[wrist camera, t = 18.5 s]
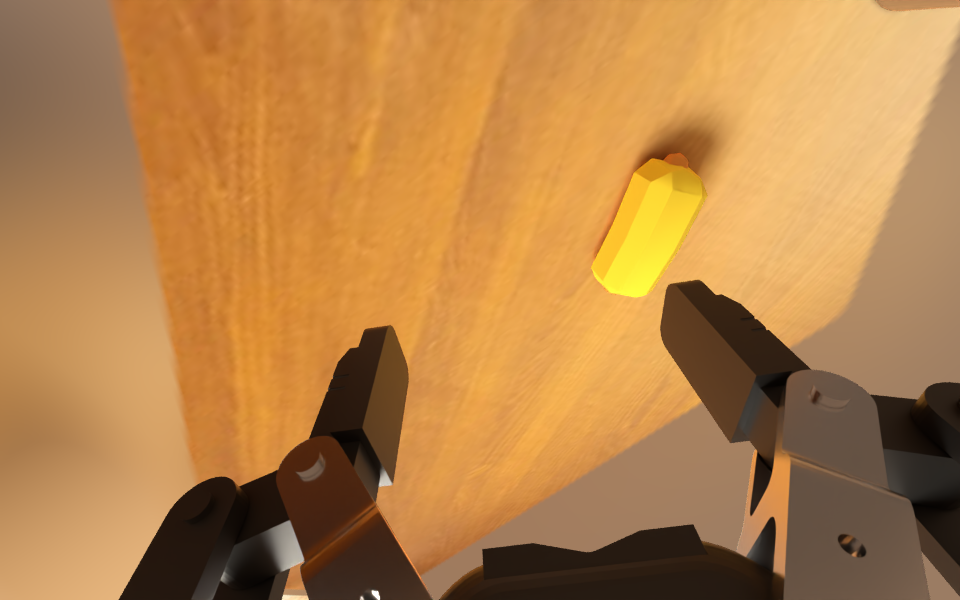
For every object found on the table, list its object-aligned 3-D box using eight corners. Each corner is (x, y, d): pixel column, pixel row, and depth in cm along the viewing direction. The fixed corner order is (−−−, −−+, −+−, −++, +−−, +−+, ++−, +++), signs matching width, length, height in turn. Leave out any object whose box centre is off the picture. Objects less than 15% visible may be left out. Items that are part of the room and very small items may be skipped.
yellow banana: (579, 280, 50) (631, 290, 51) (593, 310, 44) (651, 319, 46) (641, 140, 40) (703, 156, 41) (670, 156, 35) (741, 174, 36)
